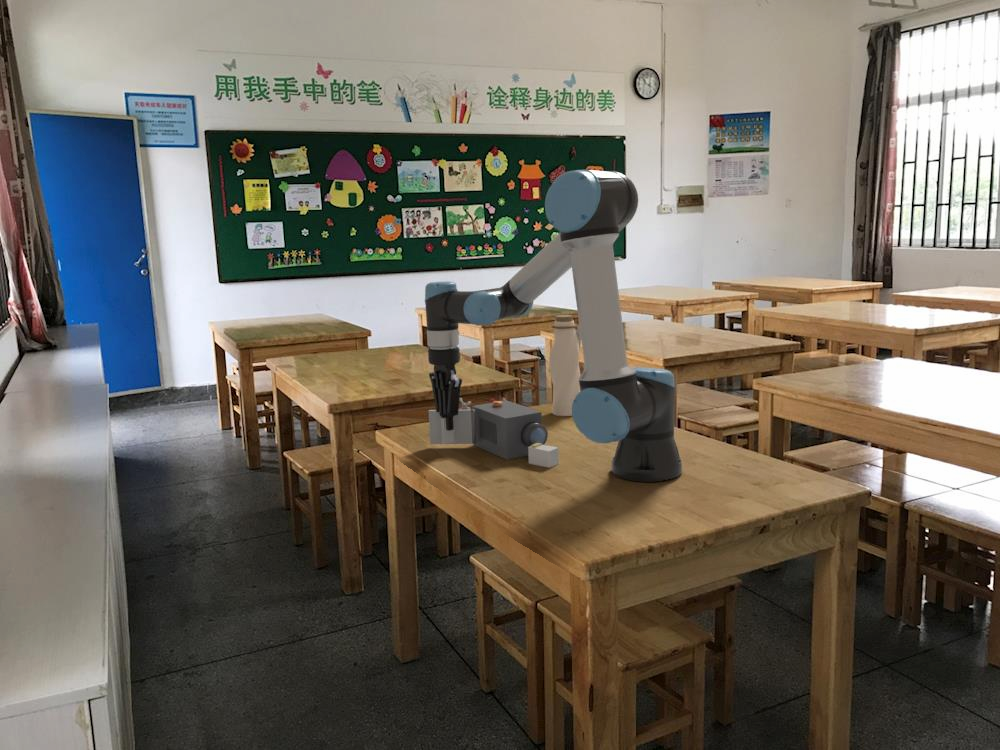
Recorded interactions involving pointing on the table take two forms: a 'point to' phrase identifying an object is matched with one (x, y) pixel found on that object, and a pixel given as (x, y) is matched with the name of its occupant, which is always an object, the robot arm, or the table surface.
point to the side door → (462, 427)
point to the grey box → (508, 428)
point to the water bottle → (565, 364)
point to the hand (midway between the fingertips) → (448, 442)
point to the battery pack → (543, 455)
